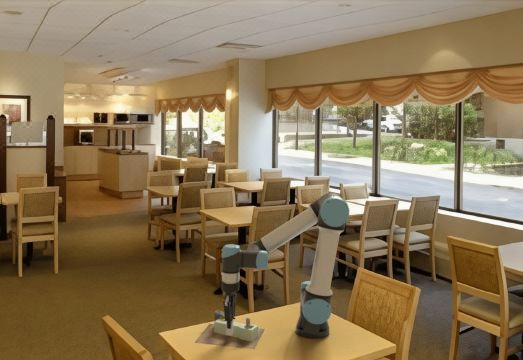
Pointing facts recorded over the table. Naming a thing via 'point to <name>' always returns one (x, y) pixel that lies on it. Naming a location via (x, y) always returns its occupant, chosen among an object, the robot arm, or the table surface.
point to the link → (237, 330)
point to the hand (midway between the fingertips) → (229, 334)
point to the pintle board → (226, 336)
